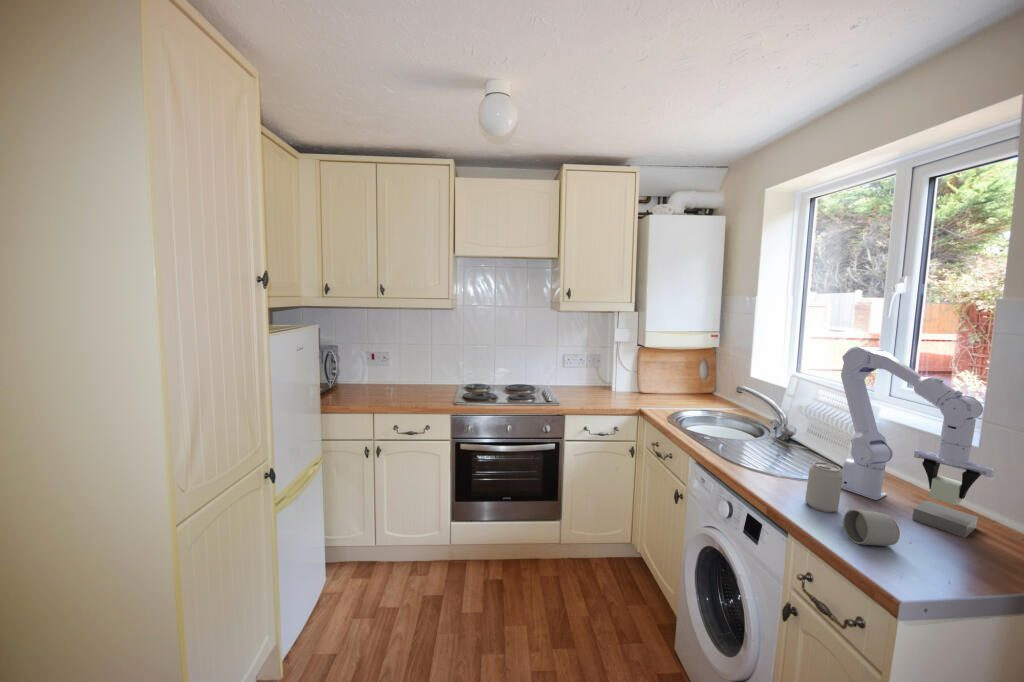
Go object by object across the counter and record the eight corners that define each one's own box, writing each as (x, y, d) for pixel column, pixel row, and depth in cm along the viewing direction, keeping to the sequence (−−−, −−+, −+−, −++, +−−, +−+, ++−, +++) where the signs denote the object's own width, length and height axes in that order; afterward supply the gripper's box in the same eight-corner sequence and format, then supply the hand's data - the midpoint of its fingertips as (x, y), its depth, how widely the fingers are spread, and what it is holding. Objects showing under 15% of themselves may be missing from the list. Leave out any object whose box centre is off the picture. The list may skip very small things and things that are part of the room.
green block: (929, 496, 114) (932, 478, 113) (935, 493, 116) (938, 475, 116) (955, 505, 110) (958, 486, 109) (961, 501, 112) (964, 482, 112)
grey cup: (900, 552, 99) (905, 520, 98) (865, 551, 99) (870, 518, 98) (862, 528, 109) (866, 499, 109) (831, 526, 109) (834, 497, 109)
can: (798, 502, 122) (804, 461, 120) (815, 499, 125) (821, 458, 123) (826, 515, 115) (833, 472, 113) (844, 511, 118) (850, 469, 116)
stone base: (912, 518, 116) (914, 508, 115) (924, 510, 121) (926, 500, 121) (964, 537, 107) (967, 526, 107) (975, 528, 113) (977, 517, 112)
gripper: (913, 436, 116) (905, 484, 117) (992, 454, 103) (982, 508, 105) (922, 432, 119) (914, 480, 121) (1000, 450, 107) (990, 502, 109)
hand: (946, 493), depth 113 cm, fingers closed on green block, 5 cm apart
